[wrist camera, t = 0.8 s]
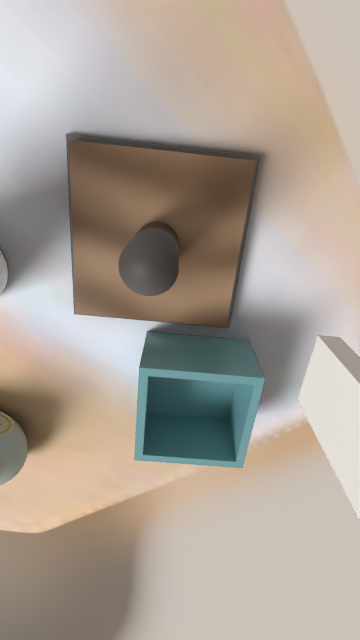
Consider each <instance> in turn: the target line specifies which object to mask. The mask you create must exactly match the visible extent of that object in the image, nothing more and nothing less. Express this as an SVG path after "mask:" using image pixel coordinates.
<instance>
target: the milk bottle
mask: <svg viewBox="0 0 360 640" xmlns="http://www.w3.org/2000/svg"><path fill="white" fill-rule="evenodd" d="M7 279H8V268H7V263H6V261H5V258H4V256H3V254H2V252H1V251H0V294H1V293H2V292H3V290H4V289H5V287H6V284H7Z"/></svg>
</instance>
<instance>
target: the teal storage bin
mask: <svg viewBox="0 0 360 640" xmlns="http://www.w3.org/2000/svg"><path fill="white" fill-rule="evenodd" d="M264 381H265V377H264V374H263V372H262V370H261V367H260V365H259V363H258V360H257V358H256V356H255V353H254V351H253V349H252V346H251V344H250V341H248V340H237V339H226V338H215V337H204V336H192V335H181V334H170V333H159V332H148V331H147V335H146V339H145V344H144V348H143V353H142V357H141V362H140V366H139V382H138V401H137V419H136V438H135V457H134V460H139V461H153V462H167V463H180V464H194V465H208V466H221V467H235V468H243V464H244V460H245V456H246V452H247V448H248V444H249V440H250V436H251V432H252V428H253V424H254V421H255V417H256V413H257V409H258V405H259V401H260V397H261V393H262V389H263V385H264Z"/></svg>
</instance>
